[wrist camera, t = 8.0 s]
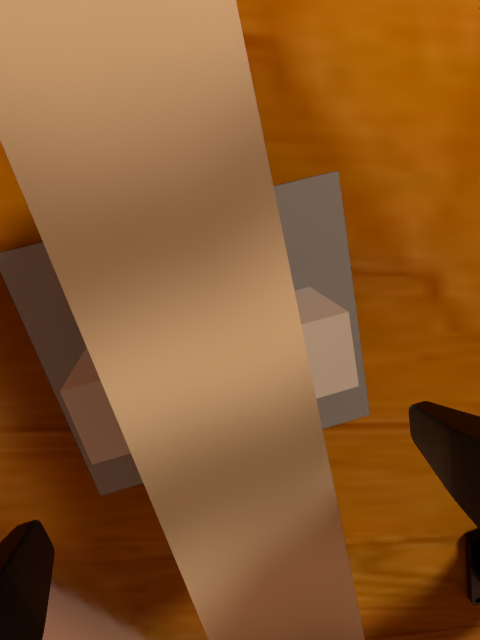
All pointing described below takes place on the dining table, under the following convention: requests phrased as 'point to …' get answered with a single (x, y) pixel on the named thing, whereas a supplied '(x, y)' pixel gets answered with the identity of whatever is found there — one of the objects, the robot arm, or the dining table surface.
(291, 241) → the fulcrum
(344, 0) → the dining table surface
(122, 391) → the beech bar
